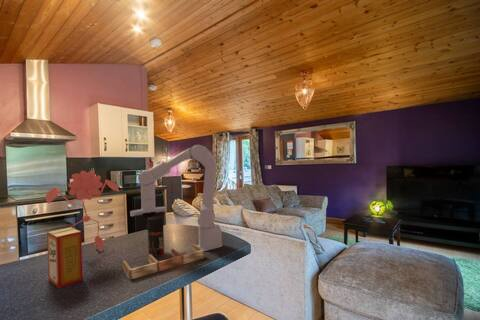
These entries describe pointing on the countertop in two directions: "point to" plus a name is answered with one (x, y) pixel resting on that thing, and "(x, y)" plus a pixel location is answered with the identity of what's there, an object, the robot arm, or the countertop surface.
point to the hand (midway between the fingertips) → (149, 230)
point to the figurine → (84, 194)
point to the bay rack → (164, 262)
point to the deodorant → (155, 236)
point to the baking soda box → (64, 256)
